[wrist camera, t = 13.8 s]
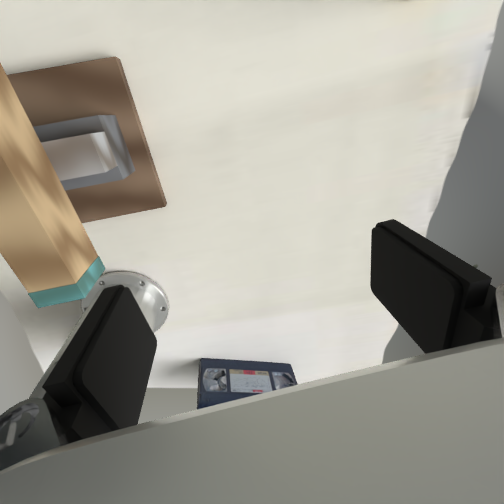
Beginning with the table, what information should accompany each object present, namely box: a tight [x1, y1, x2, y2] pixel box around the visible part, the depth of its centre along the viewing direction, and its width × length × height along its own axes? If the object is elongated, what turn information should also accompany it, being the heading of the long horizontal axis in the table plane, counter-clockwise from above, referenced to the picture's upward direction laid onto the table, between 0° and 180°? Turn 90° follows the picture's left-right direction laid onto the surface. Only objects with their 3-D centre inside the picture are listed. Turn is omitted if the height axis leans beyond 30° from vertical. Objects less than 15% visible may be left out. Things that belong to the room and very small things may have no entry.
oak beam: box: [0, 63, 105, 308], centre depth 20 cm, size 22×4×5 cm, turn 9°
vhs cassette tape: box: [197, 358, 298, 410], centre depth 48 cm, size 18×3×10 cm, turn 75°
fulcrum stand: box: [7, 57, 167, 223], centre depth 27 cm, size 16×16×10 cm
